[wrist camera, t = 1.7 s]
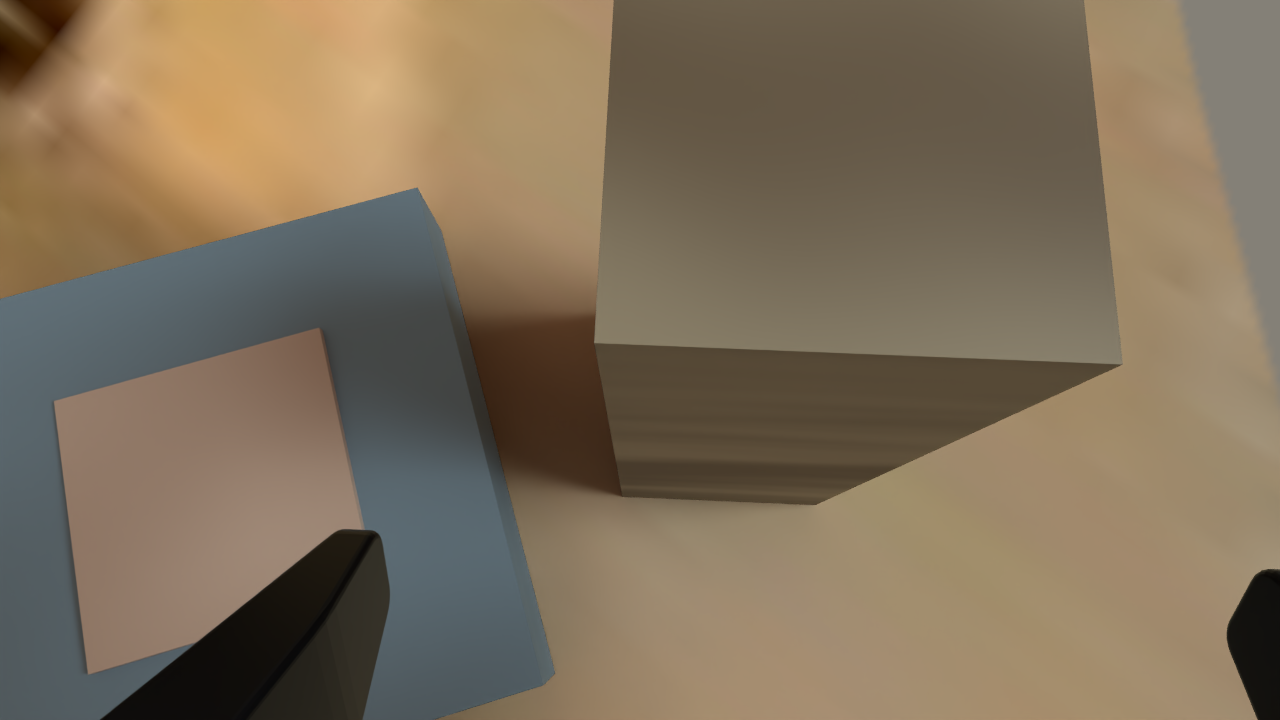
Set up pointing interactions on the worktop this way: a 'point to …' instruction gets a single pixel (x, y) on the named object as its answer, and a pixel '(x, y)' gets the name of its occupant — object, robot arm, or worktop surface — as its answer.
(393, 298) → the plate
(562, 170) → the worktop surface
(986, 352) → the pillar
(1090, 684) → the worktop surface
